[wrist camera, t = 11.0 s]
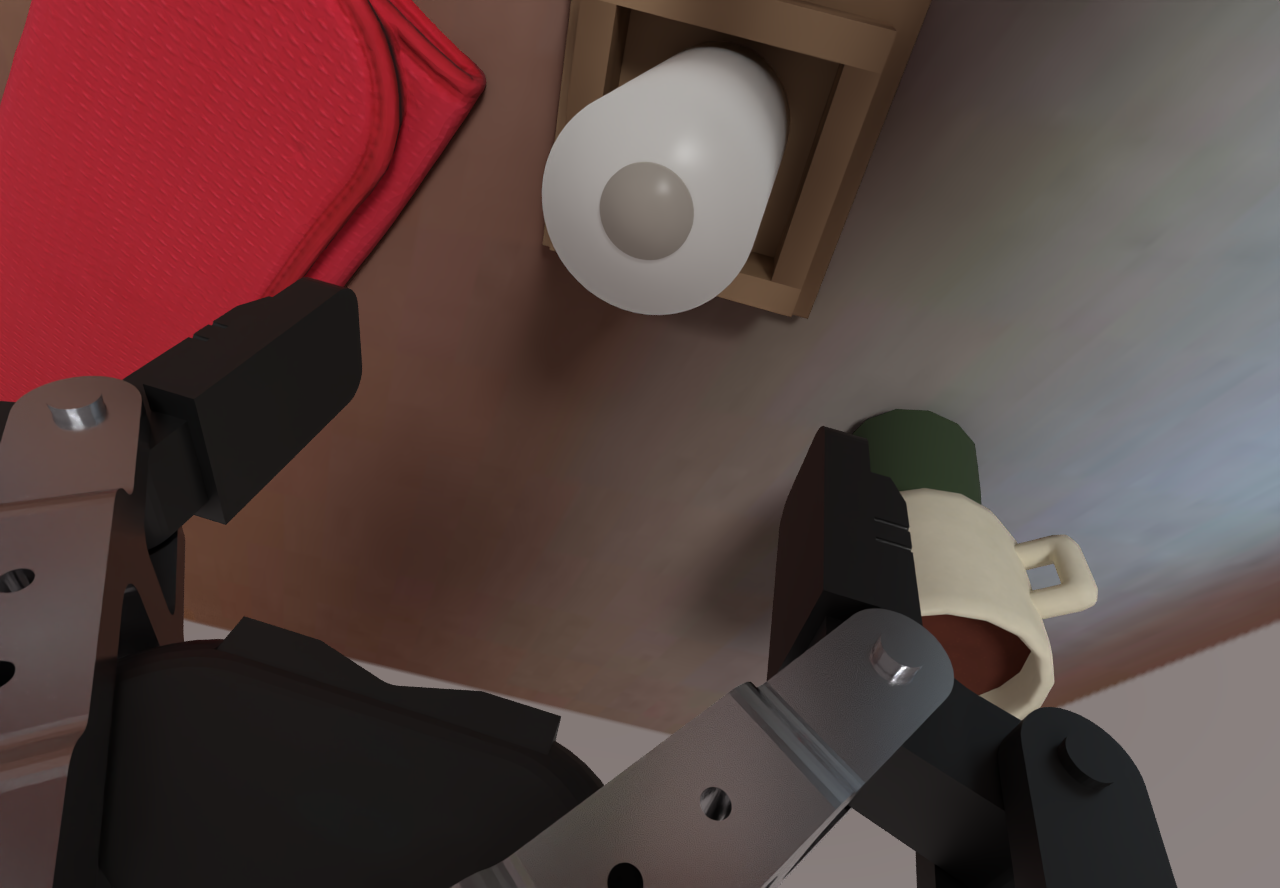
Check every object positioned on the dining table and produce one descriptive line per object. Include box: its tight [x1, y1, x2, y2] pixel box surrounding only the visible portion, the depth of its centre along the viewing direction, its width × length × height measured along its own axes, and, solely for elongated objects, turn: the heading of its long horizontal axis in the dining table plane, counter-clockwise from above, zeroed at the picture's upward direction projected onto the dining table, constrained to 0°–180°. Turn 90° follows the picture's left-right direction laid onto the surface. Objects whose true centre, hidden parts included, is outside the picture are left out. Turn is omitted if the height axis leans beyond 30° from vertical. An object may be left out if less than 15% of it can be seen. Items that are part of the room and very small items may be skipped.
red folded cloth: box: [0, 0, 486, 402], centre depth 36 cm, size 16×41×4 cm, turn 135°
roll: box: [542, 41, 790, 315], centre depth 22 cm, size 6×6×11 cm
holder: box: [543, 0, 932, 319], centre depth 26 cm, size 12×12×4 cm
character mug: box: [852, 409, 1098, 720], centre depth 29 cm, size 11×7×13 cm, turn 123°
